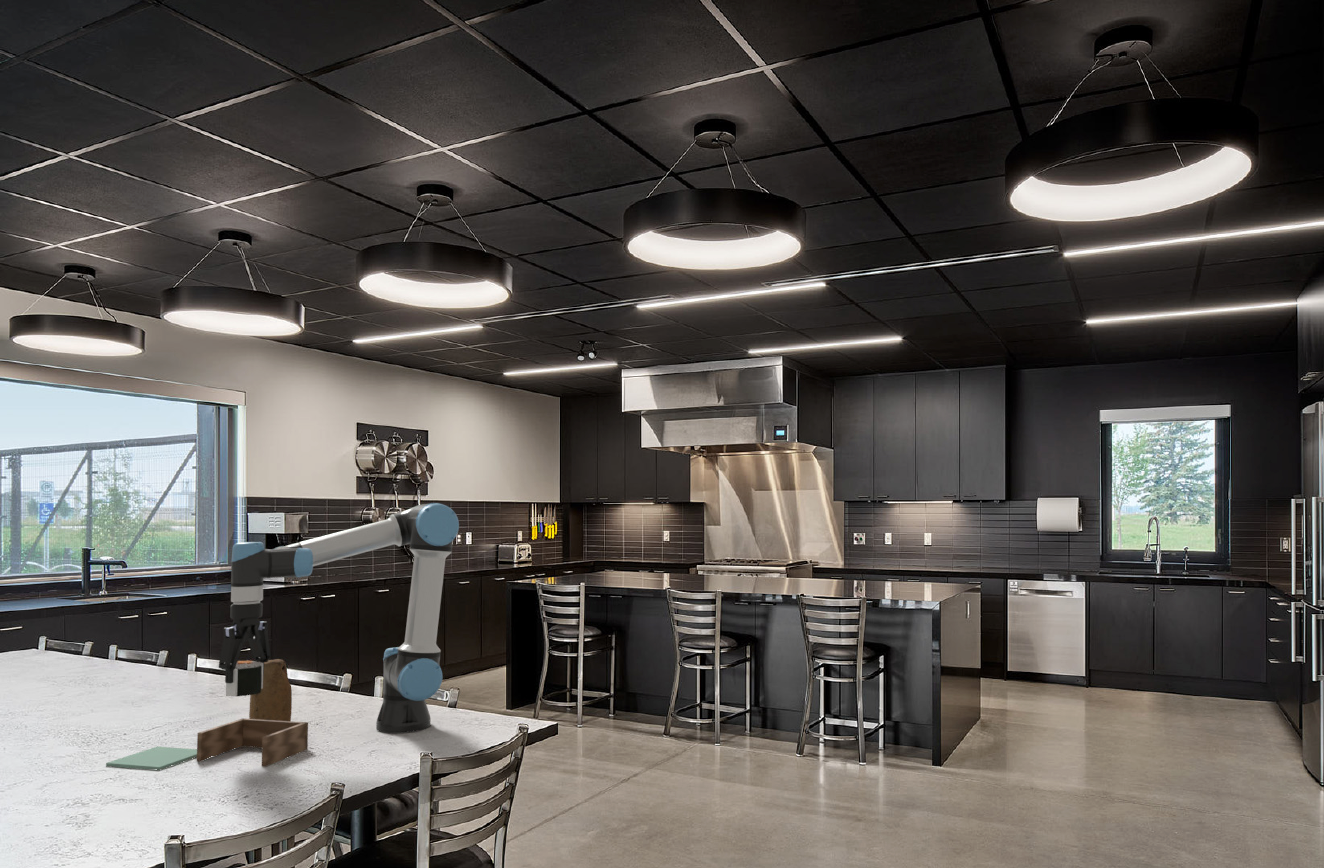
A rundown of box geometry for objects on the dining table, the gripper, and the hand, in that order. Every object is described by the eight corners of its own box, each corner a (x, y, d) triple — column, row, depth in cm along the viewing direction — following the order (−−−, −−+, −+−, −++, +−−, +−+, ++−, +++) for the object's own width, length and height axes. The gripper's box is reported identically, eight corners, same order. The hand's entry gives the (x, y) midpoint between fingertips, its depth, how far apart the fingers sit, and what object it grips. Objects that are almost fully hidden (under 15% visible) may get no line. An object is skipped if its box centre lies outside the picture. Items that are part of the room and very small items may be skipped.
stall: (241, 745, 244) (242, 718, 244) (307, 749, 239) (308, 722, 239) (196, 761, 228) (197, 732, 229) (265, 766, 223) (266, 737, 224)
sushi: (227, 697, 225) (228, 665, 226) (226, 692, 233) (227, 660, 233) (263, 694, 229) (263, 662, 230) (260, 688, 237) (261, 657, 237)
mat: (207, 753, 236) (208, 750, 236) (159, 770, 220) (159, 767, 220) (157, 749, 240) (157, 746, 240) (106, 766, 224) (106, 763, 225)
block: (250, 736, 253) (252, 663, 255) (248, 731, 260) (250, 660, 261) (292, 731, 258) (293, 660, 260) (288, 726, 265) (290, 656, 266)
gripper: (262, 598, 244) (260, 683, 242) (203, 607, 223) (200, 700, 222) (286, 598, 242) (285, 684, 240) (229, 607, 221) (226, 701, 220)
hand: (244, 692), depth 231 cm, fingers closed on sushi, 9 cm apart
